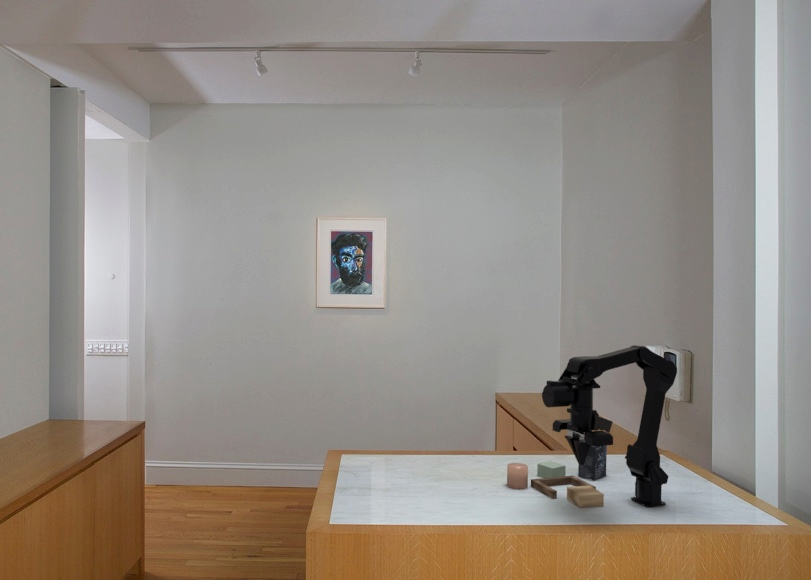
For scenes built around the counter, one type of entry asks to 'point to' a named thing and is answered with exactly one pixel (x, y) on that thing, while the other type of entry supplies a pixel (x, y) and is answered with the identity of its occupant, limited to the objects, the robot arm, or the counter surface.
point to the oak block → (585, 496)
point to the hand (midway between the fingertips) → (581, 464)
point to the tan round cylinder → (517, 476)
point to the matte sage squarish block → (550, 469)
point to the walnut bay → (544, 484)
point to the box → (594, 463)
